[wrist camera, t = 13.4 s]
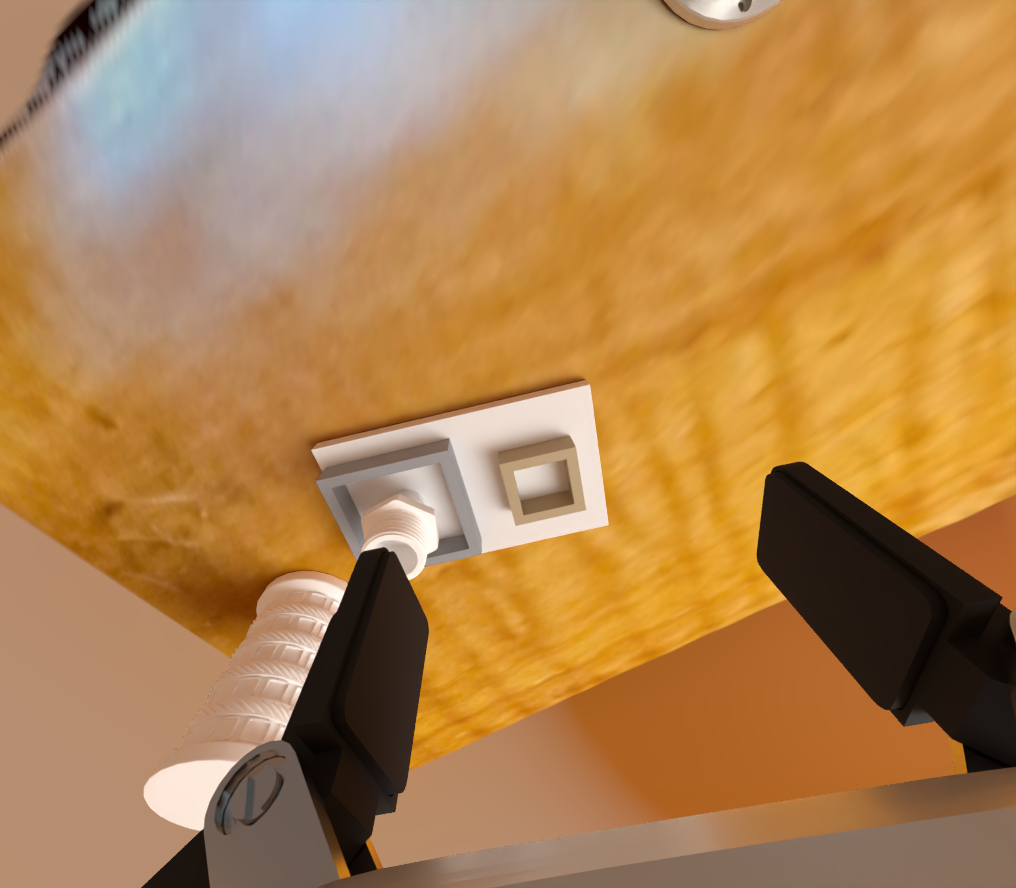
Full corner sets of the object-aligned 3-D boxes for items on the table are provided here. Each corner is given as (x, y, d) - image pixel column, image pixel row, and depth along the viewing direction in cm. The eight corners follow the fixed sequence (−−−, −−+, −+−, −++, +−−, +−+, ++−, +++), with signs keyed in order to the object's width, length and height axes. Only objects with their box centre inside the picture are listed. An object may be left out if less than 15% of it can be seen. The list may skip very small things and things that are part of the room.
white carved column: (311, 654, 49) (229, 849, 33) (239, 599, 44) (100, 796, 28) (384, 615, 47) (335, 803, 31) (316, 554, 42) (216, 737, 26)
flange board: (317, 443, 37) (299, 462, 33) (585, 379, 36) (597, 393, 32) (378, 567, 44) (369, 594, 40) (604, 516, 43) (615, 540, 39)
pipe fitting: (456, 509, 39) (452, 565, 32) (398, 540, 40) (381, 601, 33) (420, 462, 37) (406, 512, 29) (359, 496, 38) (331, 552, 30)
